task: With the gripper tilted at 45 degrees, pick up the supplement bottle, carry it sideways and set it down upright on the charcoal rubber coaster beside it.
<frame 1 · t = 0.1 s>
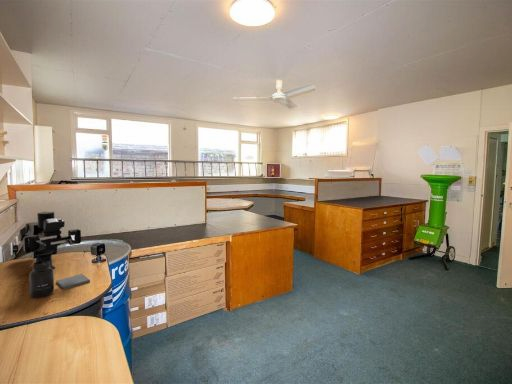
hand: (60, 244, 101), 17 cm above the worktop, tool horizontal, fingers open, 9 cm apart
supplement bottle: (42, 294, 95), on the worktop
coaster: (73, 282, 105), on the worktop
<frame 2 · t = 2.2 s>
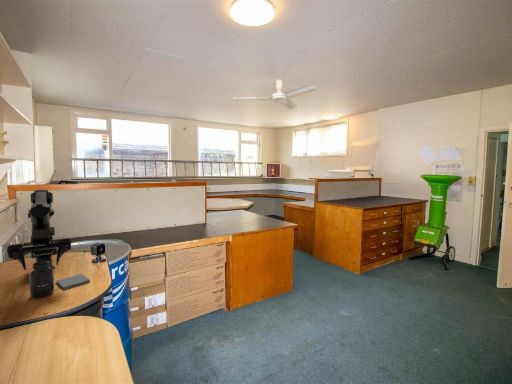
hand: (41, 267, 96), 10 cm above the worktop, tool tilted 45°, fingers open, 9 cm apart
nothing on the worktop moved.
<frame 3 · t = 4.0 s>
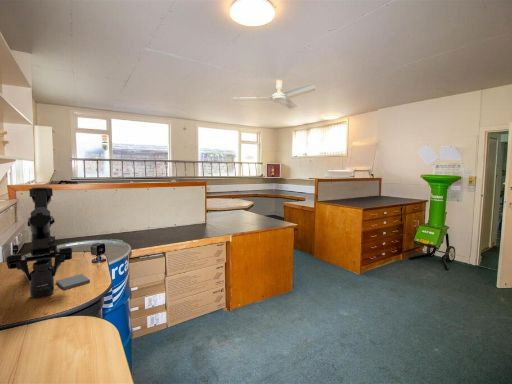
hand: (41, 278, 93), 7 cm above the worktop, tool tilted 45°, fingers closed on supplement bottle, 7 cm apart
supplement bottle: (42, 294, 95), on the worktop, touching gripper
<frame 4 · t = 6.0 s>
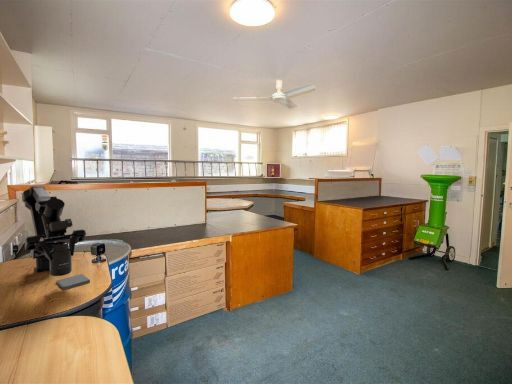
hand: (62, 257, 99), 12 cm above the worktop, tool tilted 45°, fingers closed on supplement bottle, 7 cm apart
supplement bottle: (61, 273, 100), point 5 cm above the worktop, touching gripper
when the fingers open (9 cm above the worktop, at t = 8.1 s): supplement bottle drops 1 cm, resting on coaster.
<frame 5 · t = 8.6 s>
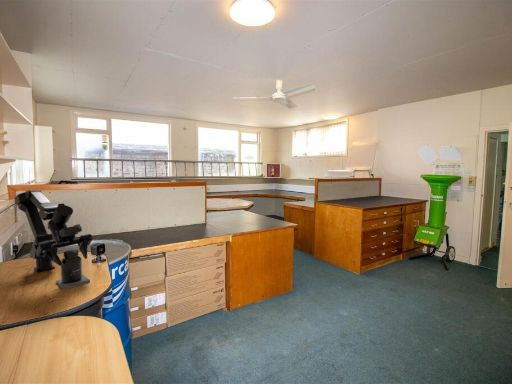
hand: (74, 261, 103), 9 cm above the worktop, tool tilted 45°, fingers open, 9 cm apart
supplement bottle: (72, 280, 105), point 1 cm above the worktop, touching coaster
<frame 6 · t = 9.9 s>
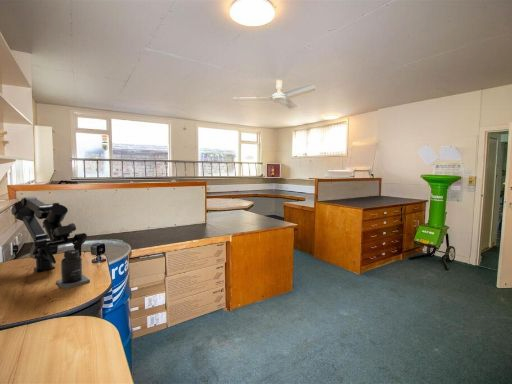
hand: (68, 259, 106), 9 cm above the worktop, tool tilted 45°, fingers open, 9 cm apart
nothing on the worktop moved.
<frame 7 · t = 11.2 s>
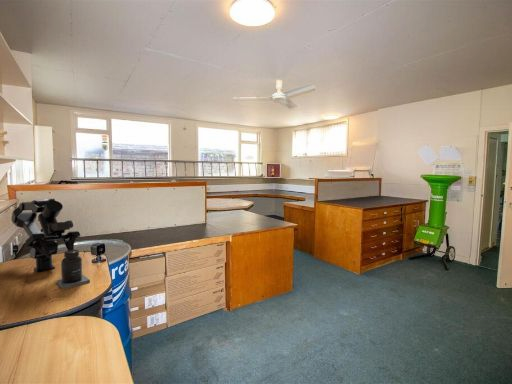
hand: (61, 255, 108), 10 cm above the worktop, tool tilted 40°, fingers open, 9 cm apart
nothing on the worktop moved.
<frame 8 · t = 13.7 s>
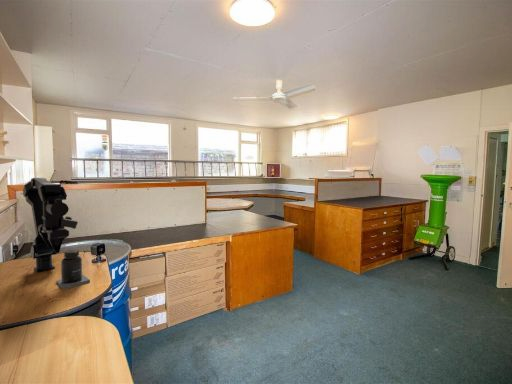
hand: (54, 250, 107), 12 cm above the worktop, tool pointing down, fingers open, 9 cm apart
nothing on the worktop moved.
at the end: supplement bottle 0.4 cm from the coaster (horizontally); supplement bottle tilted 0°; the gripper is holding nothing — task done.
